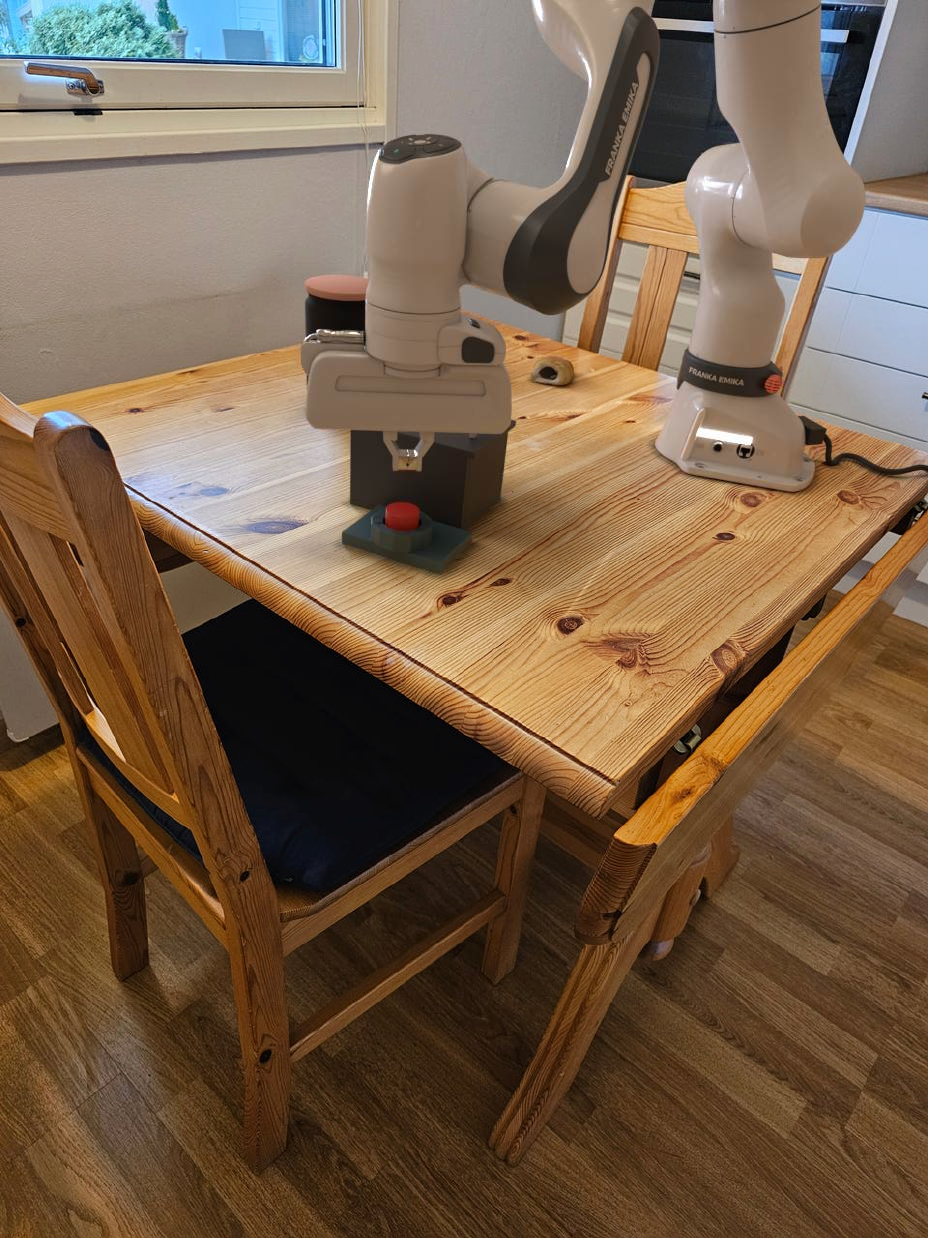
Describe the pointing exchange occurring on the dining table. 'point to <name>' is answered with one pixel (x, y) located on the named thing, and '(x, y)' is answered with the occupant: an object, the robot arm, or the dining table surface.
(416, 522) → the button
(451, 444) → the lid
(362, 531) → the control block
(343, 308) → the coffee jar
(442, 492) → the dark grey box
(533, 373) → the pastry
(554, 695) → the dining table surface
